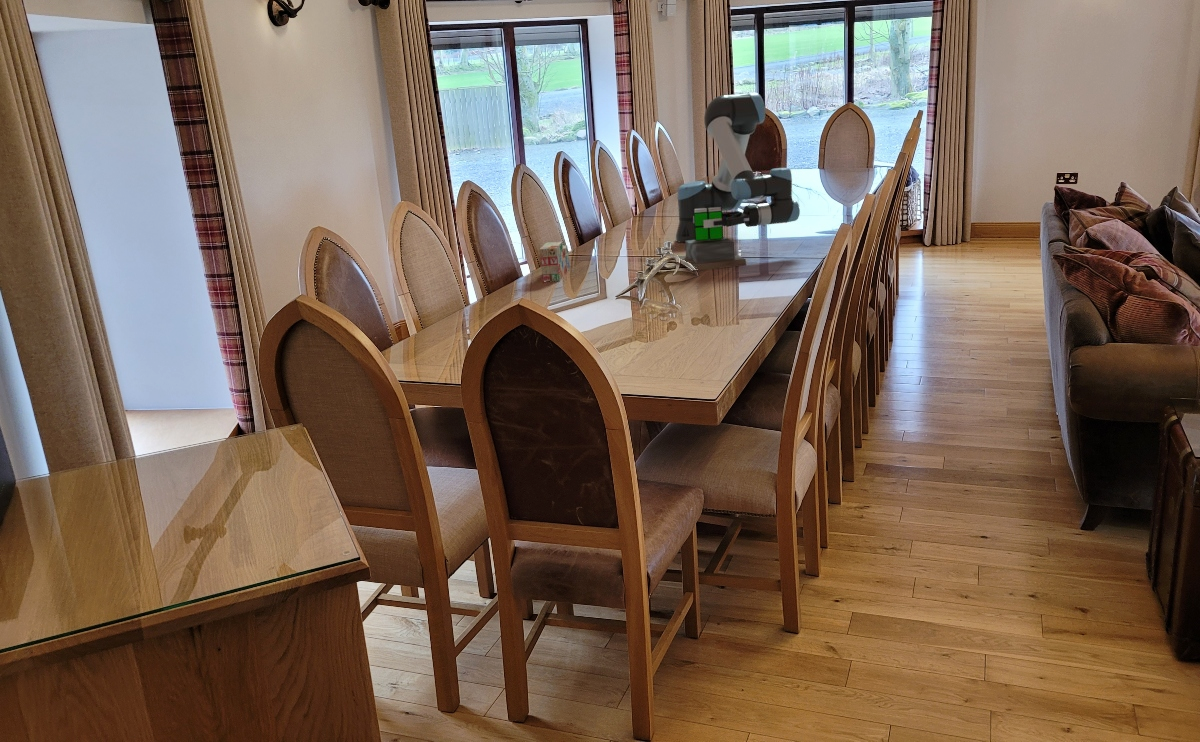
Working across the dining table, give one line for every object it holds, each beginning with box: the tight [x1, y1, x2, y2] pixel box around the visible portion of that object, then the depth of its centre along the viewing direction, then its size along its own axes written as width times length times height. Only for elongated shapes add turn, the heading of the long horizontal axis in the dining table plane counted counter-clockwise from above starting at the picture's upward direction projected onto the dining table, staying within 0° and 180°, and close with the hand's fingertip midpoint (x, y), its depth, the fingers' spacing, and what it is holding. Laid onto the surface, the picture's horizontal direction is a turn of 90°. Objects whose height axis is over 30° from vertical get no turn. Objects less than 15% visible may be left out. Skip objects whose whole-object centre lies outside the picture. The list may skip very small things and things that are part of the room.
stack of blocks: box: [539, 241, 571, 282], centre depth 337 cm, size 21×6×12 cm, turn 172°
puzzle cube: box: [694, 207, 724, 241], centre depth 333 cm, size 10×10×10 cm
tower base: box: [678, 236, 747, 271], centre depth 336 cm, size 20×20×8 cm
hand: (698, 221), depth 332 cm, fingers open, 12 cm apart
